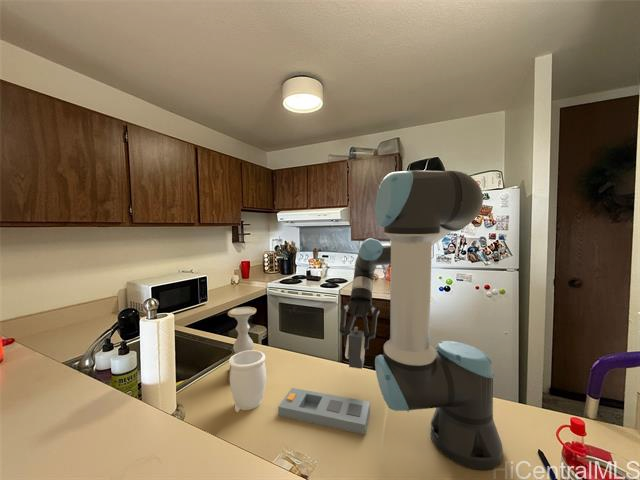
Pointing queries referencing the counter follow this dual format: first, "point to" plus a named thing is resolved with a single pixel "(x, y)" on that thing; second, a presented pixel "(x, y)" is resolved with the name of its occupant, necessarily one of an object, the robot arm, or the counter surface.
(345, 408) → the power strip
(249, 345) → the candle holder
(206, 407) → the counter surface
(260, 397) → the jar
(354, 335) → the block
